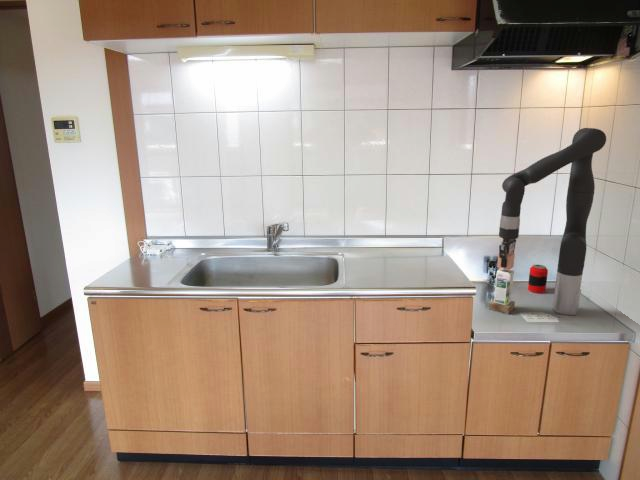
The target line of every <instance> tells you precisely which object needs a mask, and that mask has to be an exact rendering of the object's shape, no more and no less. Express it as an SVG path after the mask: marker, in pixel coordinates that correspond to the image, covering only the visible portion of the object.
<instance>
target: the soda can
mask: <svg viewBox="0 0 640 480" xmlns="http://www.w3.org/2000/svg"><path fill="white" fill-rule="evenodd" d="M548 274H549V270H548V269H547V266H545V265H543V264H533V265H531V267H529V275H528V283H527V284H528V285H527V290H528V291H529V292H530V293H533V294H544V293H546V289H547V281H548Z"/></svg>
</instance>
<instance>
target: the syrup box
mask: <svg viewBox="0 0 640 480" xmlns="http://www.w3.org/2000/svg"><path fill="white" fill-rule="evenodd" d="M514 274H515V270H514V269H510V270H508V269H503V268H498V269H497V271H496V276H495V278H496V279H495V288H494V296H493V297H494V299H493V300H494V303H498V304H502V305H506V306H507V305H508V304H509V303H510V302H511V301H512V292H513V285H514Z"/></svg>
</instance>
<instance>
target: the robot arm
mask: <svg viewBox="0 0 640 480" xmlns="http://www.w3.org/2000/svg"><path fill="white" fill-rule="evenodd" d="M606 142H607V135H606V133H605V132H604V131H603V130H602V129H599V128H594V127H583V128H580V129H578V130H577V131H576V132H575V134H574V135H573V137H572V142H571V144H570V145H568V146H566V147H564V148H562V149H561V150H558V151H556V152H554V153H552V154H549V155H547V156H545V157H543V158H541V159H539V160H537V161H535V162H534V163H532V164H531V165H529V166H528V167H526V168H525V169H522V170H520V171H517V172H515V173H512V174H511V175H509V176H508V177H506V178H505V179H504V180H503V182H502V185H501V187H502V190H503V191H504V192H505V199H504V201H503V202H502V205H501V214H500V219H499V227H498V228H499V229H498V230H499V231H498V236H499V238H502V241H501V244H499V247H498V248H499V249H498V251H499V252H498V254H499V258H501V267H504V268H506V267H507V258H508V254H510V252H511V253H515V250H516V249H515V248H516V244H517V240H518V238H519V236H520V235H519V234H520V226H521V225H520V224H521V209H522V207H521V205H522V202H523V199H524V196H525V192H526V191H525V190H526V186H528V185H531V184H536V183H539V182H540V181H542V180H544V179H545V178H547V177H549V176H550V175H551V174H553V173H555V172H557V171H559V170H560V169H563V168H564V167H566V166H567V165H570V164H571V167H570V173H569V178H568V186H567V192H566V193H567V194H566V202H565V204H566V205H565V212H566V221H565V228H564V230H563V231H564V232H563V235H562V238H561V241H560V246H559V254H558V261H557V269H556V277H555V278H556V279H555V284H554V294H553V300H552V301H553V302H552V307H551V308H552V310H553V311H554V312H555V313H558V314H561V315H564V316H576V315H577V314H578V311H579V308H580V301H581V295H582V294H581V293H582V290H581V289H582V288H581V287H582V282H583V281H582V278H583V273H584V268H585V263H586V262H585V261H586V256H587V224H588V220H589V216H590V213H591V209H592V206H593V202H594V197H595V196H594V195H595V187H596V185H595V179H594V173H593V168H592V165H593V164H592V162H593V156H594V153H596V152H599V151H601V150H602V149H603V148H604V147H605V145H606ZM503 254H504V256H503Z"/></svg>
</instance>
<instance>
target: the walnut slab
mask: <svg viewBox="0 0 640 480" xmlns="http://www.w3.org/2000/svg"><path fill="white" fill-rule="evenodd" d="M515 304H516V302H515V301H513V300H511V302H510V303H509V304H508V305H507V306H506V305H502V304H498V303H494V299H492V300H491V301H490V302H489V306H488V310H490V311H493V312H498V313H501V314H505V315H509V314H511V312H512V311H513V310H514V309H515Z"/></svg>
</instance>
